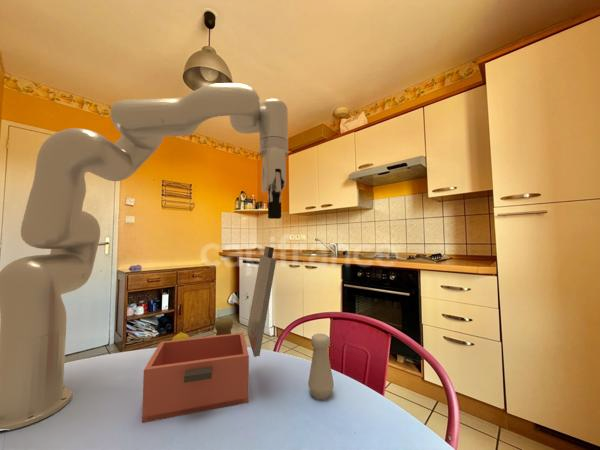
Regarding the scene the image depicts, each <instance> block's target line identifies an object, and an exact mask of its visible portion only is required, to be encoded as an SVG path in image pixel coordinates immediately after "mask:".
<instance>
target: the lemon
mask: <svg viewBox="0 0 600 450" xmlns="http://www.w3.org/2000/svg"><path fill="white" fill-rule="evenodd" d="M190 338H191V337H190V336H189V335H188V334H187V333H185V332H182V331H180V332H178V333H177V334H176V335H175V336H173V337H172V339H171V341H172V340H181V339H190Z"/></svg>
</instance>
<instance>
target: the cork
mask: <svg viewBox="0 0 600 450" xmlns="http://www.w3.org/2000/svg"><path fill="white" fill-rule="evenodd" d="M233 325H234V322H233V320H232V319H231V318H229V317H222V318H221V317H220V318H219V319H218V318H217V319H216V321H215V323H214V329H215V331H216V335H215V336H218V335H227V334H232V328H233Z"/></svg>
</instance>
